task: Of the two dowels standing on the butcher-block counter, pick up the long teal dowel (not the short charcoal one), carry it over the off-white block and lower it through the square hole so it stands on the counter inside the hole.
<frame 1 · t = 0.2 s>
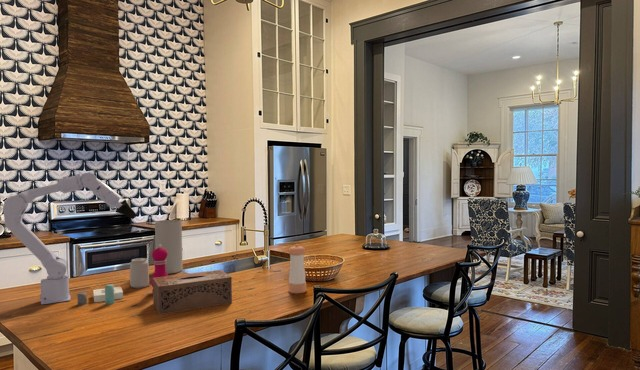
hand: (134, 216, 178), 31 cm above the kitchen island, tool tilted 45°, fingers open, 7 cm apart
short dowel: (82, 304, 160), on the kitchen island
hole block: (108, 297, 169), on the kitchen island
pepper mill: (160, 293, 174), on the kitchen island
cylinder vase: (169, 271, 213), on the kitchen island
pepper shaker: (297, 291, 175), on the kitchen island
long dowel: (109, 303, 160), on the kitchen island
tissue box cover: (192, 304, 160), on the kitchen island
can: (139, 286, 185), on the kitchen island
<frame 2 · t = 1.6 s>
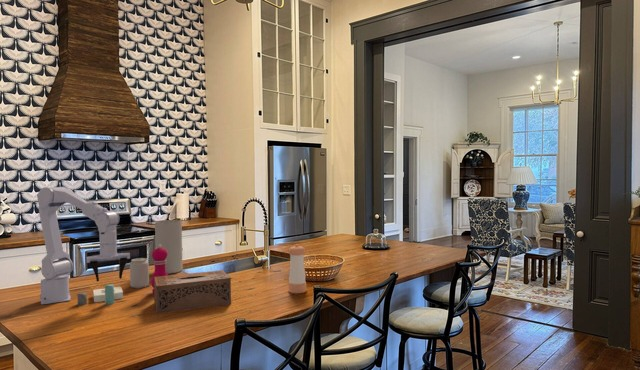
hand: (109, 279, 160), 9 cm above the kitchen island, tool pointing down, fingers open, 7 cm apart
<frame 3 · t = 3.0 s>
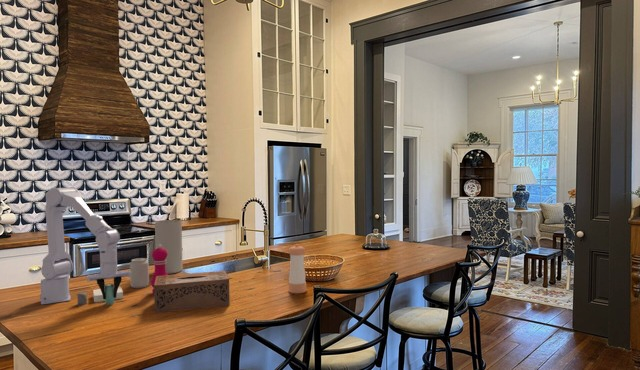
hand: (109, 297, 160), 2 cm above the kitchen island, tool pointing down, fingers closed on long dowel, 3 cm apart
long dowel: (109, 303, 160), on the kitchen island, touching gripper
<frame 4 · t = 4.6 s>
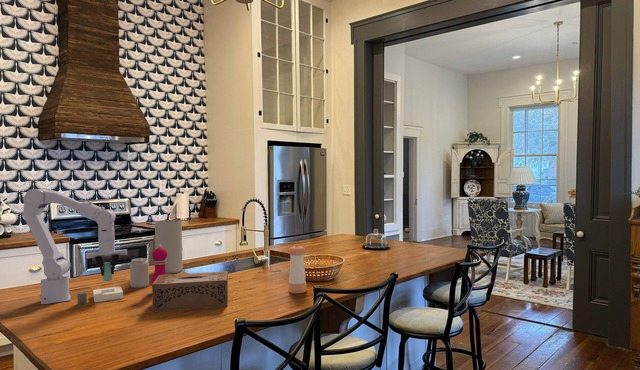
hand: (107, 274, 169), 9 cm above the kitchen island, tool pointing down, fingers closed on long dowel, 3 cm apart
long dowel: (107, 280, 169), point 7 cm above the kitchen island, touching gripper
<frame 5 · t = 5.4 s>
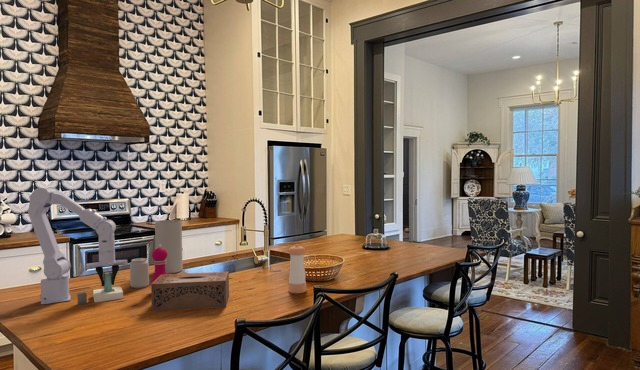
hand: (107, 285, 169), 5 cm above the kitchen island, tool pointing down, fingers closed on long dowel, 3 cm apart
long dowel: (108, 290, 169), point 3 cm above the kitchen island, touching gripper
when the fingers open (3 cm above the kitchen island, at t = 6.1 s): long dowel drops 1 cm, resting in hole block.
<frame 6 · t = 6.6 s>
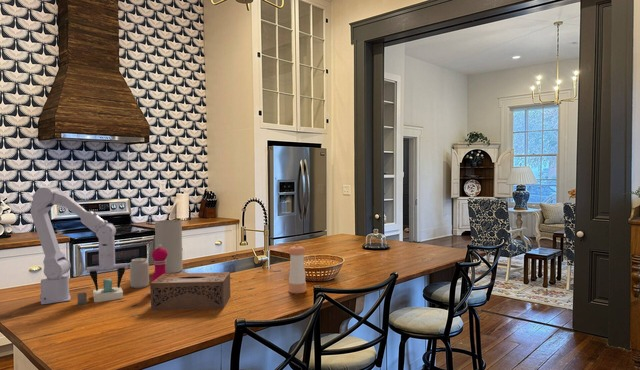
hand: (107, 288, 169), 3 cm above the kitchen island, tool pointing down, fingers open, 7 cm apart
long dowel: (108, 297, 169), resting in hole block
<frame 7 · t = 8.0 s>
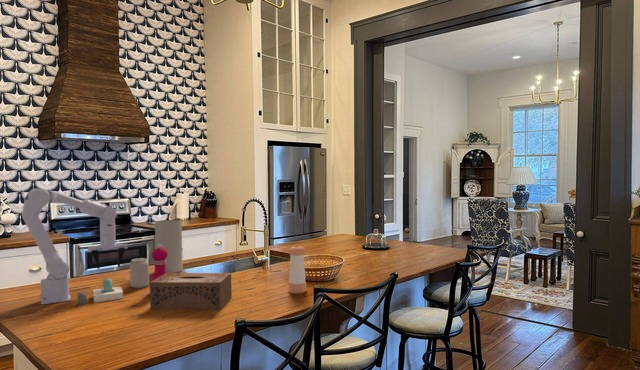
hand: (108, 267, 178), 10 cm above the kitchen island, tool pointing down, fingers open, 7 cm apart
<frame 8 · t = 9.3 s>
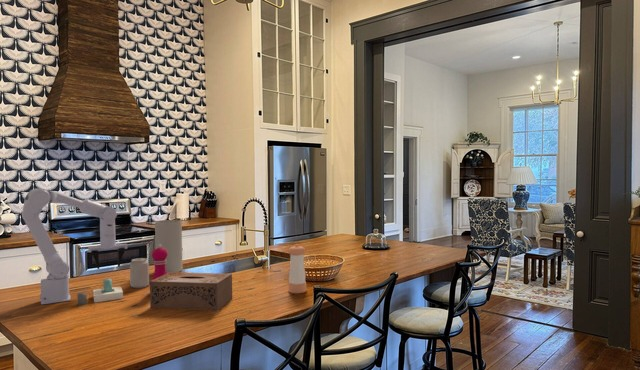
hand: (108, 267, 178), 10 cm above the kitchen island, tool pointing down, fingers open, 7 cm apart
at the end: long dowel 0.1 cm off-centre on the hole block, point 0.0 cm above the hole block's base; long dowel tilted 0°; short dowel moved 0.0 cm from its start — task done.
